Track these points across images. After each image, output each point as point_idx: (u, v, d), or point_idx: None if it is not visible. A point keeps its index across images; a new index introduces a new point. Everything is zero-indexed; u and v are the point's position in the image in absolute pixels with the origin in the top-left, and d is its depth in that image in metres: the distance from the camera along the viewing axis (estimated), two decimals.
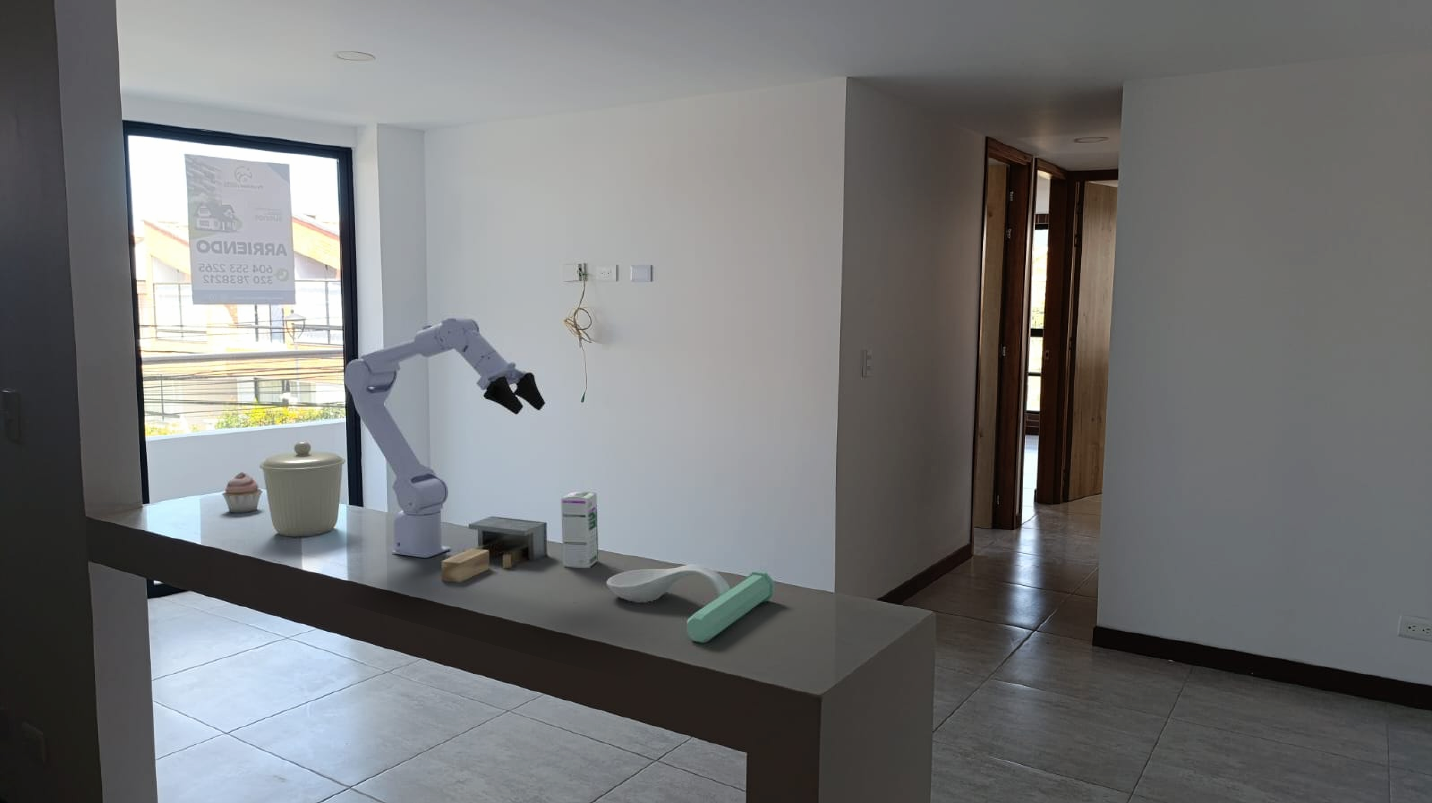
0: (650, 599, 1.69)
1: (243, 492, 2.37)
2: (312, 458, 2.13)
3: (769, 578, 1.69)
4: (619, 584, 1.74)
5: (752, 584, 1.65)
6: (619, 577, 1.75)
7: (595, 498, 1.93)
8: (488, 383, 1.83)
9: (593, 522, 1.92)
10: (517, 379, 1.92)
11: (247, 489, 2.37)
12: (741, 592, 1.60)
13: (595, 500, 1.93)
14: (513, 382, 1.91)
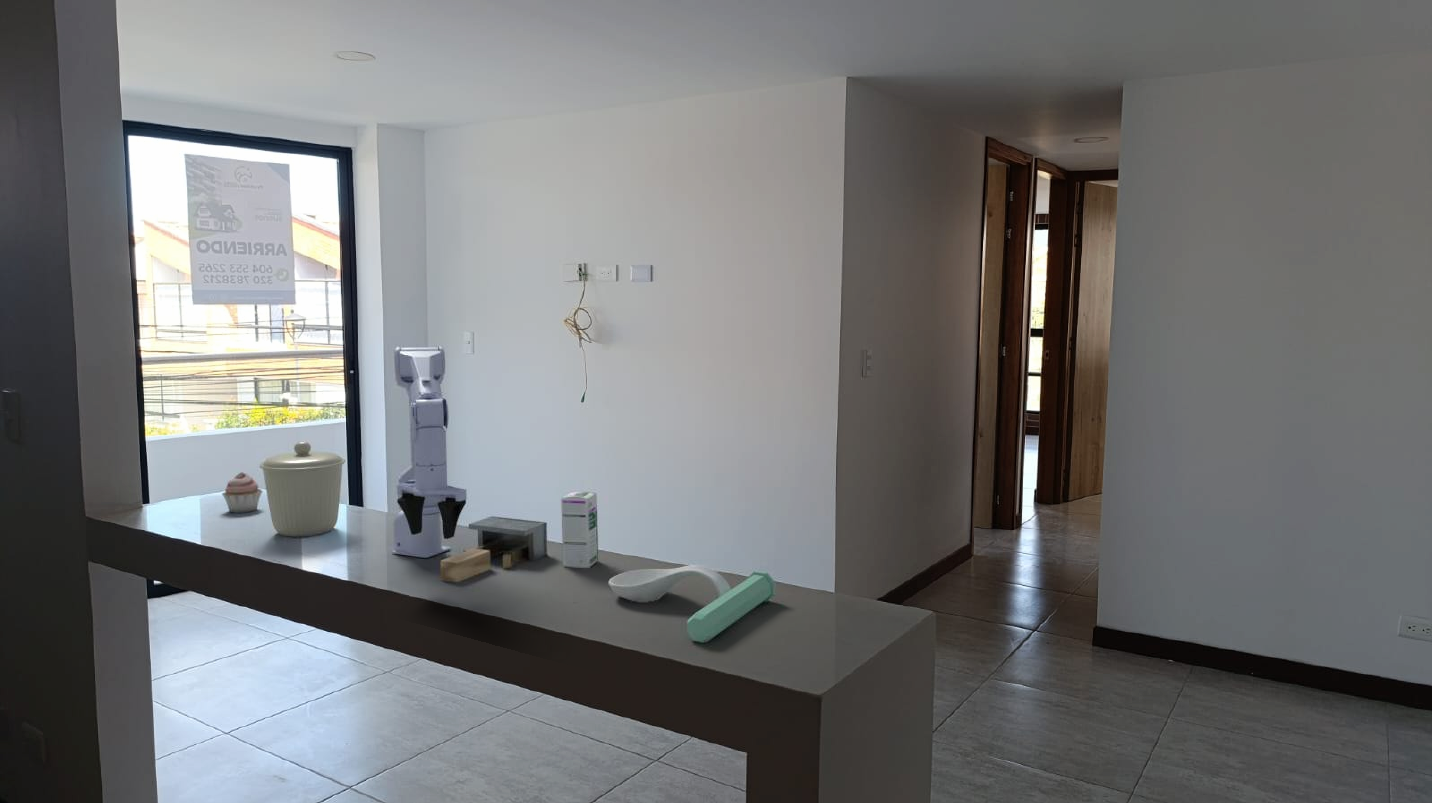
0: (651, 599, 1.69)
1: (243, 492, 2.37)
2: (312, 458, 2.13)
3: (770, 578, 1.69)
4: (621, 584, 1.74)
5: (753, 584, 1.65)
6: (621, 577, 1.75)
7: (595, 498, 1.93)
8: None
9: (593, 522, 1.92)
10: (446, 496, 1.73)
11: (247, 489, 2.37)
12: (742, 592, 1.60)
13: (595, 500, 1.93)
14: None
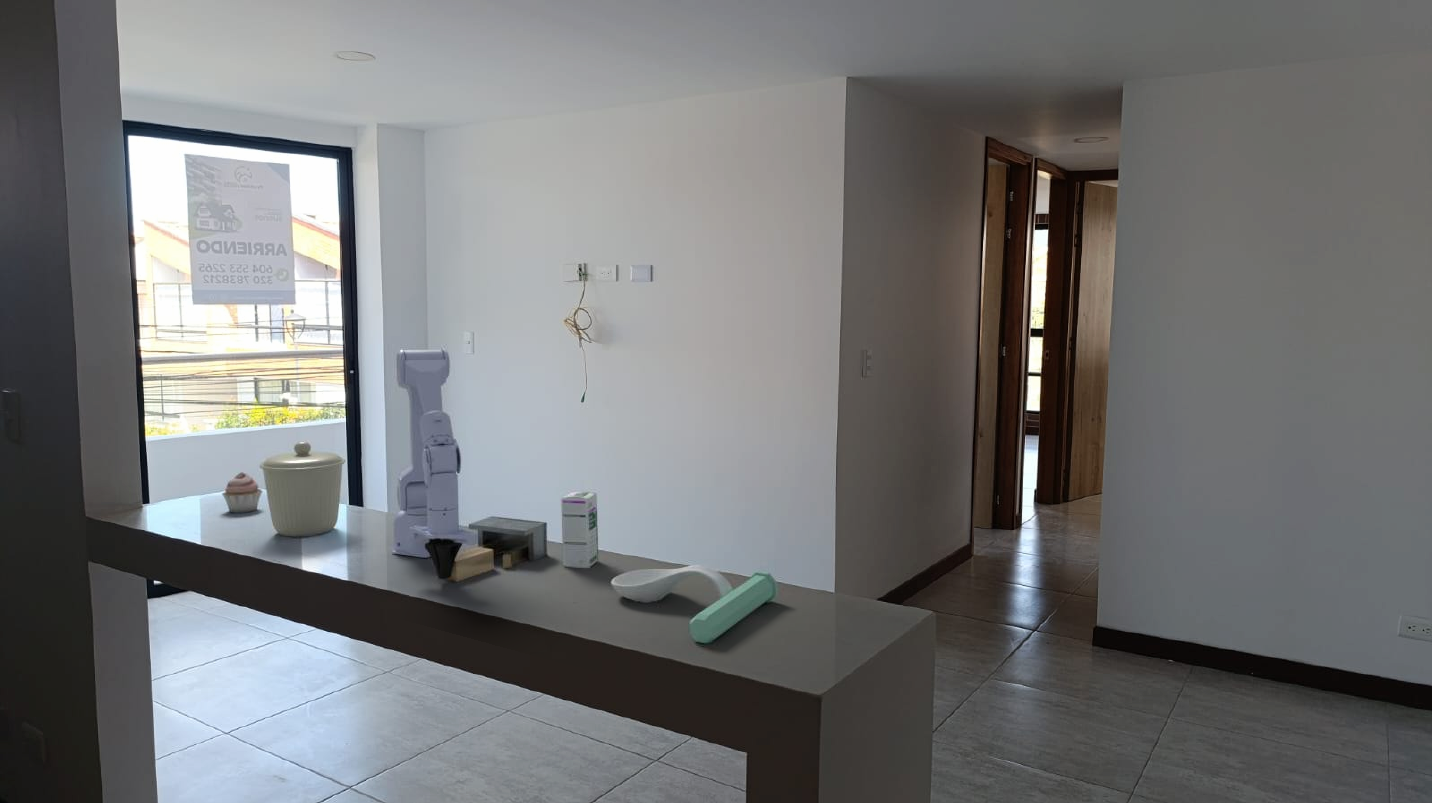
0: (654, 599, 1.69)
1: (243, 492, 2.37)
2: (312, 458, 2.13)
3: (772, 578, 1.69)
4: (624, 584, 1.74)
5: (755, 585, 1.64)
6: (624, 577, 1.75)
7: (595, 498, 1.93)
8: None
9: (593, 522, 1.92)
10: (458, 540, 1.77)
11: (247, 489, 2.37)
12: (744, 593, 1.60)
13: (595, 500, 1.93)
14: None
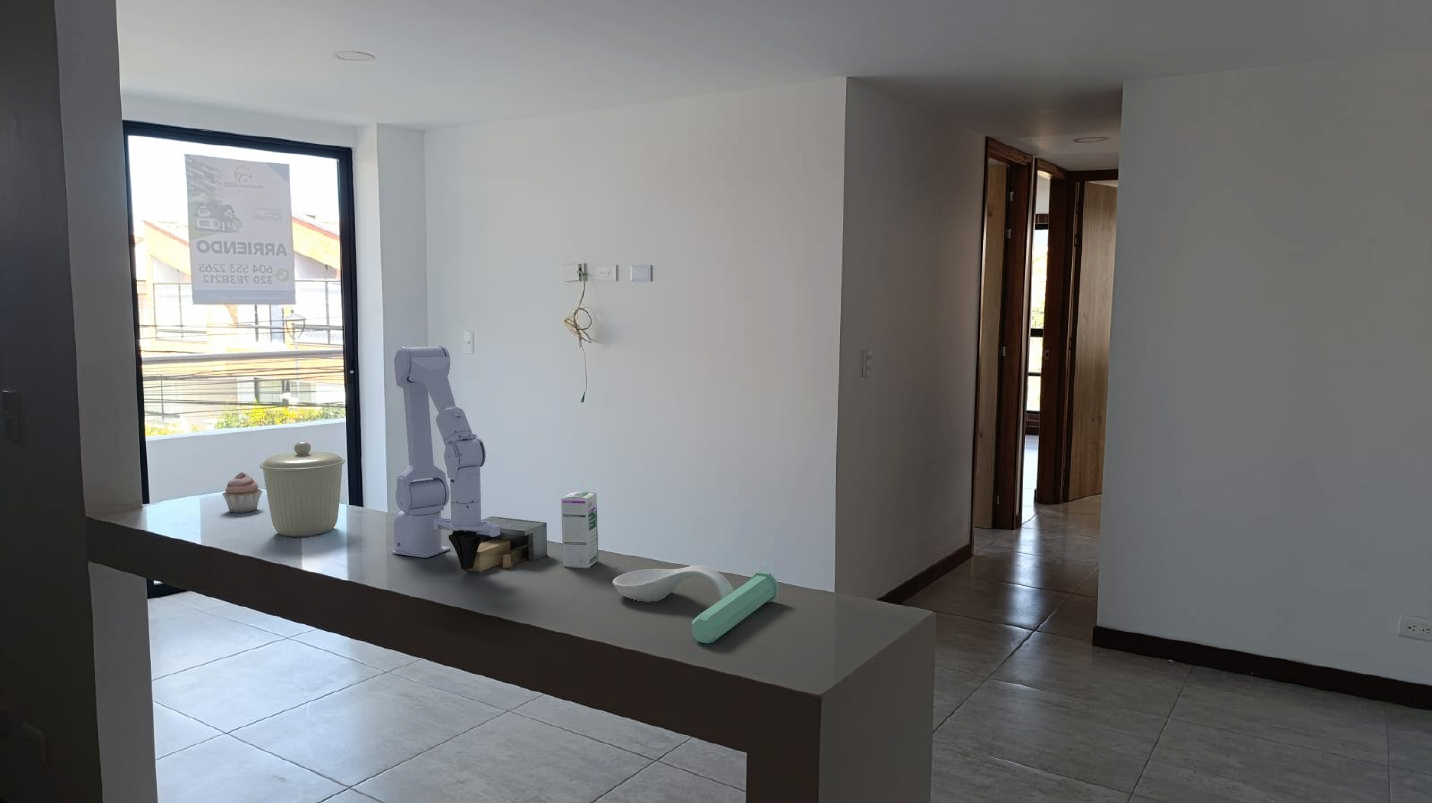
0: (655, 599, 1.69)
1: (243, 492, 2.37)
2: (312, 458, 2.13)
3: (773, 579, 1.69)
4: (626, 584, 1.74)
5: (756, 585, 1.64)
6: (626, 576, 1.76)
7: (595, 498, 1.93)
8: None
9: (593, 522, 1.92)
10: (480, 532, 1.84)
11: (247, 489, 2.37)
12: (745, 593, 1.60)
13: (595, 500, 1.93)
14: None
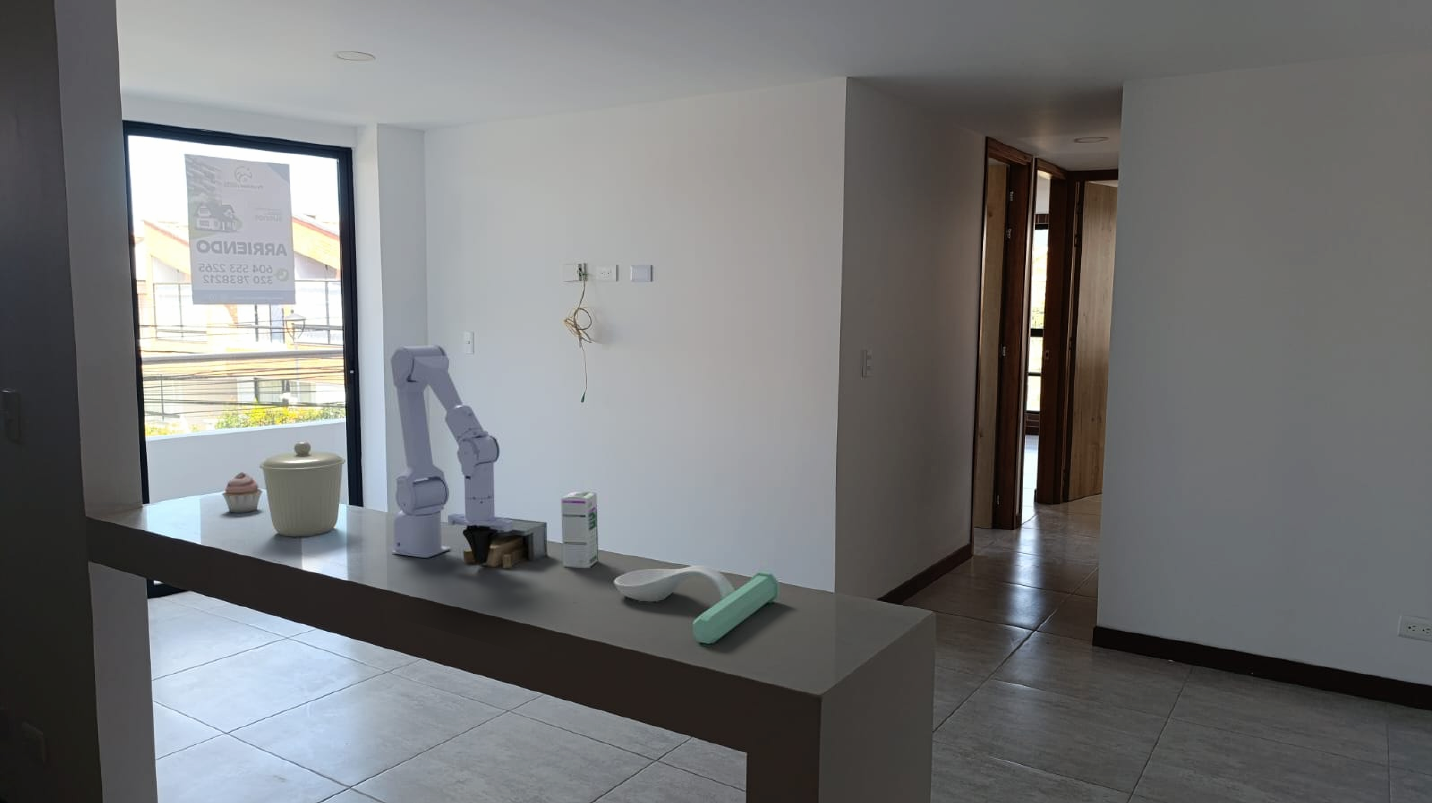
0: (656, 599, 1.69)
1: (243, 492, 2.37)
2: (312, 458, 2.13)
3: (774, 579, 1.69)
4: (627, 583, 1.74)
5: (757, 585, 1.64)
6: (628, 576, 1.76)
7: (595, 498, 1.93)
8: None
9: (593, 522, 1.92)
10: (494, 527, 1.88)
11: (247, 489, 2.37)
12: (747, 593, 1.60)
13: (595, 500, 1.93)
14: None
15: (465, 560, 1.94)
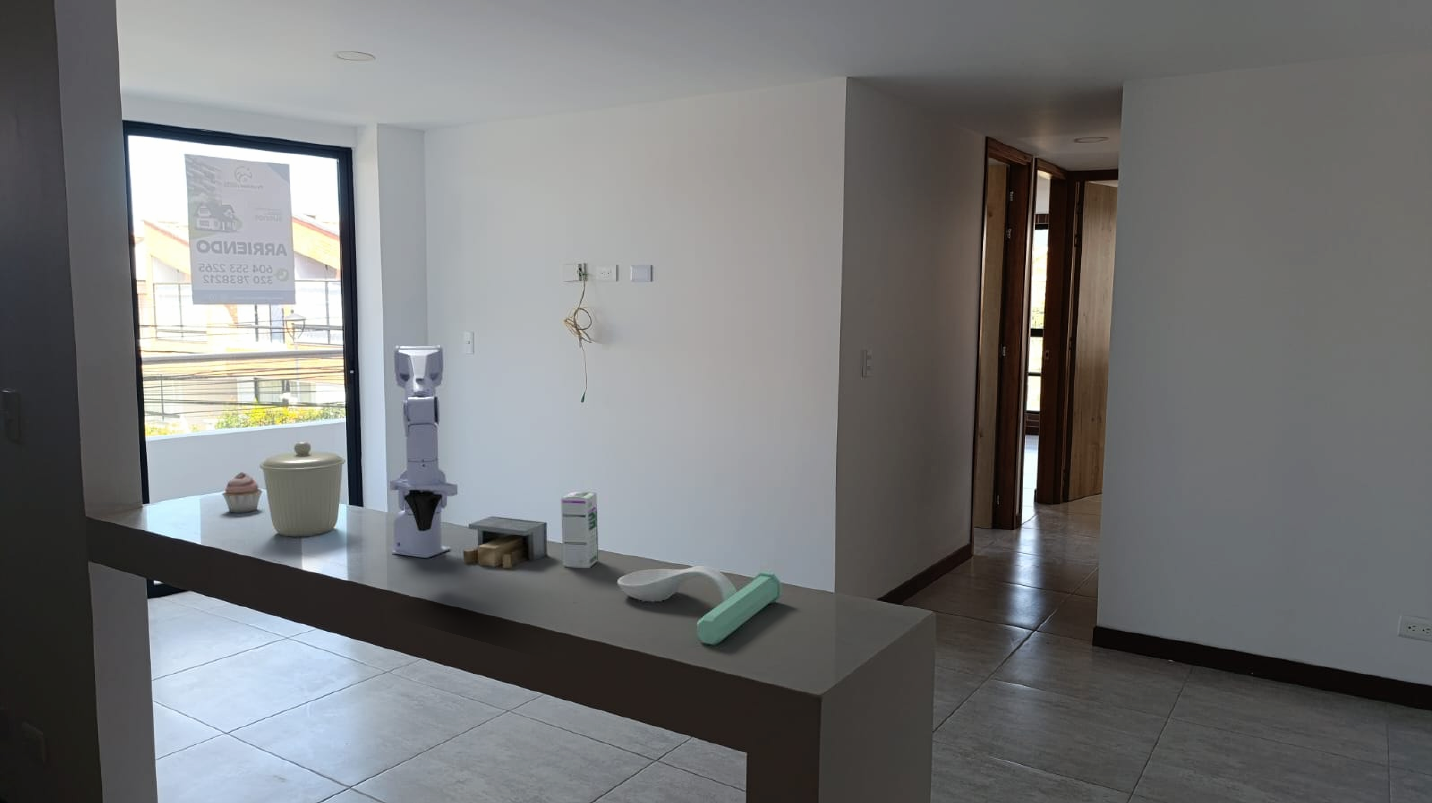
0: (658, 599, 1.69)
1: (243, 492, 2.37)
2: (312, 458, 2.13)
3: (776, 579, 1.68)
4: (631, 583, 1.74)
5: (760, 585, 1.64)
6: (632, 576, 1.76)
7: (595, 498, 1.93)
8: None
9: (593, 522, 1.92)
10: (437, 491, 1.78)
11: (247, 489, 2.37)
12: (749, 593, 1.60)
13: (595, 500, 1.93)
14: None
15: (465, 560, 1.94)
